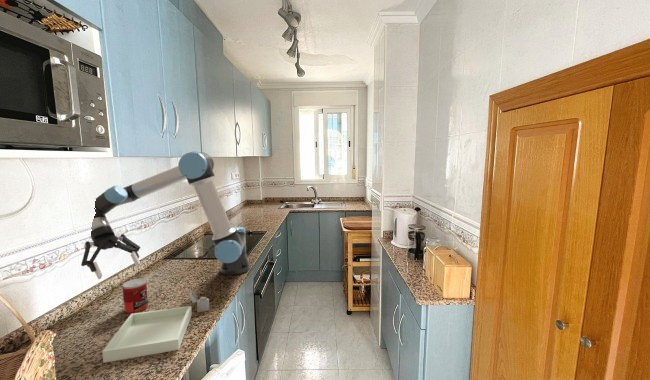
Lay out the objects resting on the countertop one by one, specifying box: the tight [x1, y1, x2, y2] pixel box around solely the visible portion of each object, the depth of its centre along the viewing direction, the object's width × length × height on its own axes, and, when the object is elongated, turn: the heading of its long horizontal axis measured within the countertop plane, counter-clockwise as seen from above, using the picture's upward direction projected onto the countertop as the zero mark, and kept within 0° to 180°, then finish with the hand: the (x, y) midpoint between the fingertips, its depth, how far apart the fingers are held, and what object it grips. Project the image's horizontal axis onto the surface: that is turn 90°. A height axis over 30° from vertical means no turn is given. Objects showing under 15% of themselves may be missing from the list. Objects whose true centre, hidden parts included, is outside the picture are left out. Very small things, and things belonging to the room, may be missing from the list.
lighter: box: [187, 291, 210, 313], centre depth 105 cm, size 7×2×8 cm, turn 106°
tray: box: [101, 305, 193, 363], centre depth 91 cm, size 20×20×4 cm
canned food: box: [121, 278, 149, 315], centre depth 106 cm, size 8×8×11 cm
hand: (120, 271), depth 110 cm, fingers open, 13 cm apart
